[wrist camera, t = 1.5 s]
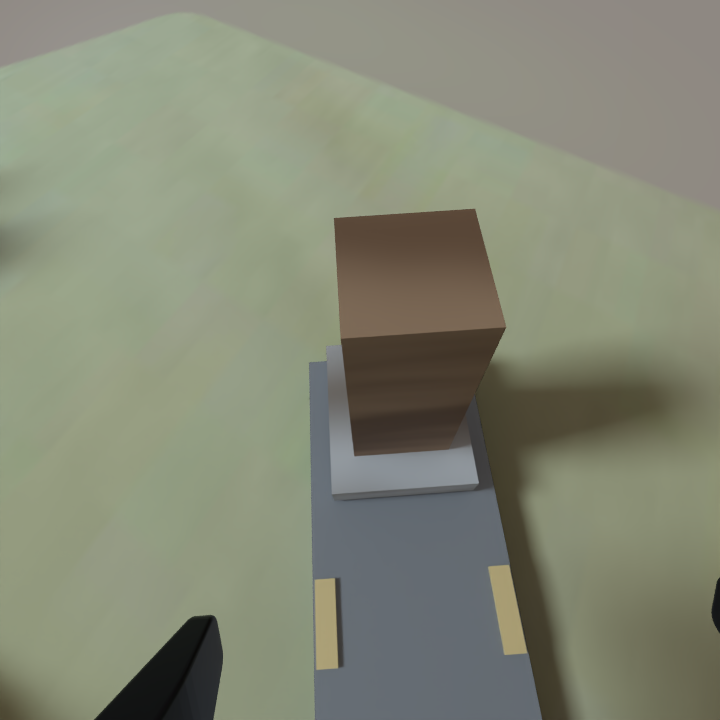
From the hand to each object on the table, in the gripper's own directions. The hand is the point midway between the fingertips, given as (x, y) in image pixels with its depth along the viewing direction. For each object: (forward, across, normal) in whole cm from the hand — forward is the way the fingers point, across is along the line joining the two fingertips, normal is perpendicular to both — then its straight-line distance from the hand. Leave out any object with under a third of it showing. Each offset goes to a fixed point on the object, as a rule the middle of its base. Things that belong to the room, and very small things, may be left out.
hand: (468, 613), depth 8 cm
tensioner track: (+10, 0, +7) cm, 13 cm away
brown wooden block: (+13, 0, +2) cm, 13 cm away
